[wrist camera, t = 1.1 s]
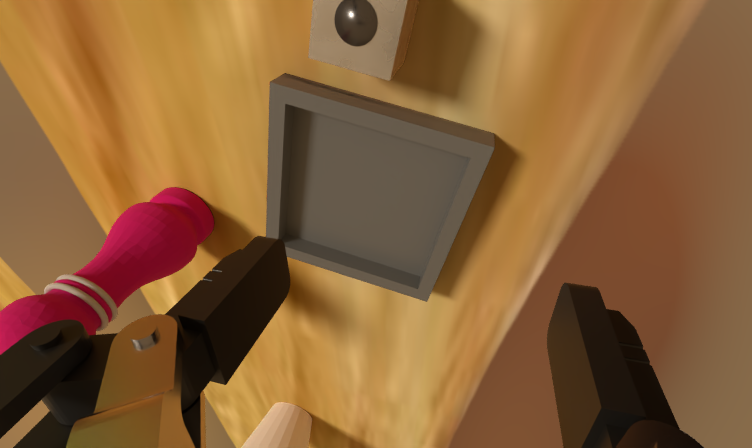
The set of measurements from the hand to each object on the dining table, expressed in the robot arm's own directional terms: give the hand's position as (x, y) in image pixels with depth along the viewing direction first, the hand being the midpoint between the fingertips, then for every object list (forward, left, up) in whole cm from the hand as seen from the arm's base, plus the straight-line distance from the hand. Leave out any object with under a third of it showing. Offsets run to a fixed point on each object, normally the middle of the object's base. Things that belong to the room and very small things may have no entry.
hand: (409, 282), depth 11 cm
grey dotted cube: (-6, +4, -19) cm, 20 cm away
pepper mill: (-22, -19, -19) cm, 35 cm away
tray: (-4, -10, -19) cm, 22 cm away
